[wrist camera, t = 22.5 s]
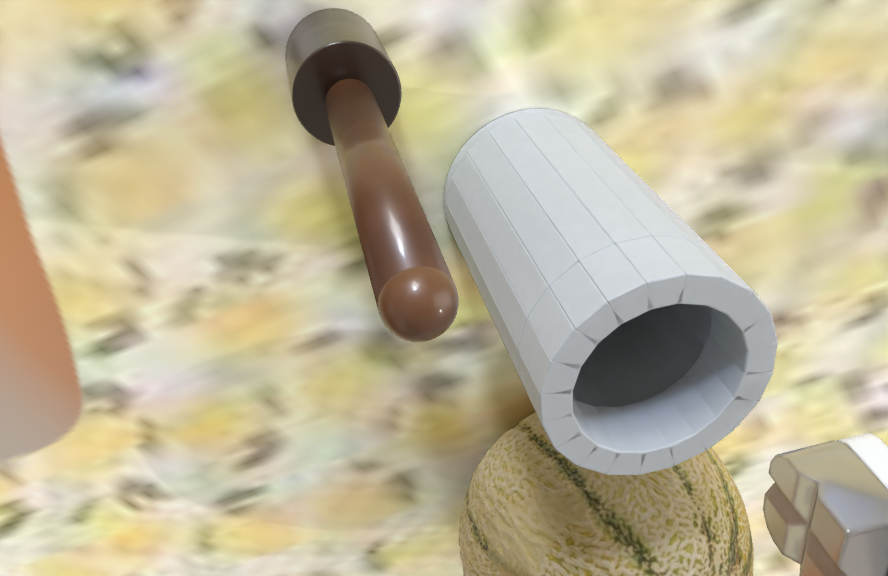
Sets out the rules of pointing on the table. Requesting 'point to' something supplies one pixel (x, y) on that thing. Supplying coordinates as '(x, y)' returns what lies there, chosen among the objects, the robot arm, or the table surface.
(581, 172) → the grey hollow cylinder
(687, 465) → the cantaloupe
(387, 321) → the brown pestle
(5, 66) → the table surface
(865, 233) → the table surface
